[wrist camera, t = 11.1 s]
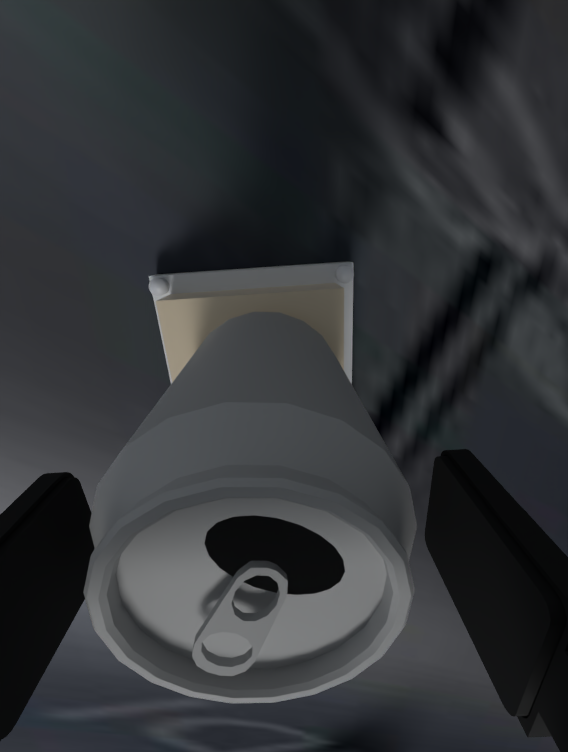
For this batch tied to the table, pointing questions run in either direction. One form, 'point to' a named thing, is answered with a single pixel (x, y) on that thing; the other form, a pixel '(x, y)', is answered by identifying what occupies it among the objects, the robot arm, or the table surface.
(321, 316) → the tower base
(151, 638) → the can
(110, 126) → the table surface
